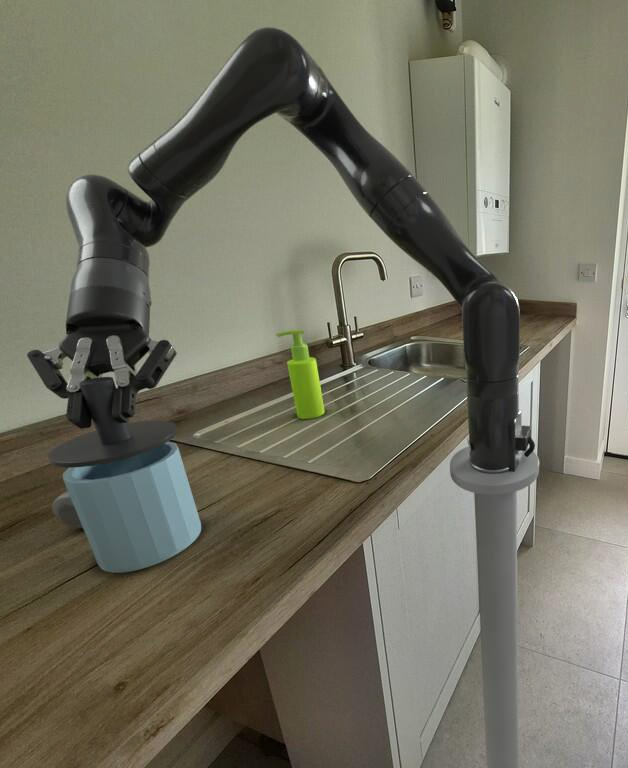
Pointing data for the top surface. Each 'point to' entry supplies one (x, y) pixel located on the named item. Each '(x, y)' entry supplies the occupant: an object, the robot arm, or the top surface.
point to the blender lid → (109, 432)
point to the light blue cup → (135, 508)
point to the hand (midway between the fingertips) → (101, 422)
